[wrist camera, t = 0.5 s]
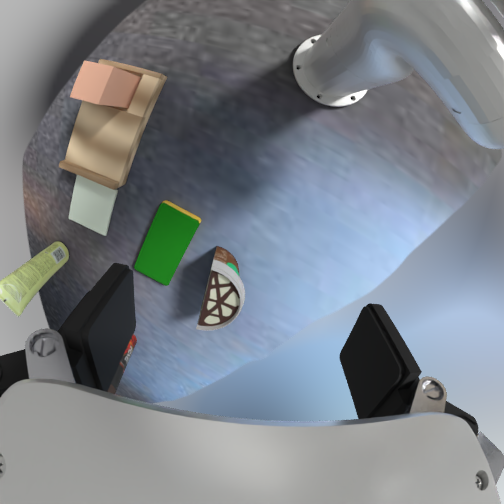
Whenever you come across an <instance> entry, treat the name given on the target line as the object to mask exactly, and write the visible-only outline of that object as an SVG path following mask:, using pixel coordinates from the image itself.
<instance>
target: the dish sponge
mask: <svg viewBox="0 0 504 504" xmlns="http://www.w3.org/2000/svg"><path fill="white" fill-rule="evenodd" d="M200 222H201V218H199V217H197V216H196V215H194V214H192V213H190V212H188V211H186V210H184V209H182V208H181V207H179V206H177V205H175V204H173V203H171V202H169V201H167V200H165V201H163V202H162V203H161V204H160V206H159V209H158V211H157V213H156V215H155V217H154V220H153V222H152V224H151V227H150V229H149V231H148V234H147V236H146V238H145V241H144V243H143V246H142V248H141V250H140V253H139V255H138V258H137V261H136V263H135V266H134V268H135V270H137V271H139V272H141V273H143V274H145V275H146V276H148V277H150V278H152V279H154V280H156V281H158V282H160V283H162V284H164V285H165V286H167V285H169V283H170V281H171V279H172V277H173V275H174V273H175V271H176V269H177V267H178V265H179V263H180V261H181V259H182V257H183V255H184V253H185V251H186V249H187V247H188V245H189V243H190V241H191V239H192V237H193V236H194V234H195V232H196V230H197V228H198V226H199V224H200Z"/></svg>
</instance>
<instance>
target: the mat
mask: <svg viewBox="0 0 504 504" xmlns="http://www.w3.org/2000/svg"><path fill="white" fill-rule="evenodd" d="M117 192H118V190H117V189H115V190H112V189H110V188H108V187H105V186H103V185H101V184H98V183H96V182H94V181H91V180H89V179H86V178H84V177H82V176H79V175H77V177H76V181H75V186H74V191H73V196H72V201H71V206H70V212H69V218H68V219H71V220H73V221H75V222H77V223H79V224H81V225H83V226H85V227H87V228H89V229H91V230H93V231H96V232H98V233H100V234H102V235H104V236H106V235H107V232H108V227H109V223H110V219H111V215H112V211H113V207H114V203H115V200H116V196H117Z"/></svg>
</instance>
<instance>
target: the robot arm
mask: <svg viewBox="0 0 504 504" xmlns="http://www.w3.org/2000/svg"><path fill="white" fill-rule="evenodd" d="M490 1H491V2H492V3H493V4H494V6H495V7H496V8H497V10H498V11H499V12H500V14H501V15H502V16H503V18H504V0H490ZM311 42H313V43H314V44H313V43H311ZM292 67H293V74H294V77H295V79H296V82H297V83H298V85H299V87H300V88H301V89H302V90H303V91H304V93H305V94H307V95H308V96H309V97H310V98H311V99H313V100H315V101H316V102H318V103H321V104H323V105H327V106H332V107H342V106H347V105H351V104H353V103H356V102H357V101H358V100H360V99H361V98H362V97H363V96H364V95H365V94H366V92H367V90H368V89H371V88H375V87H379V86H383V85H387V84H391V83H394V82H397V81H400V80H402V79H404V78H406V77H407V76H409V75H410V74H411V73H412V72H413V70H415V71H416V72H417V73H418V74H419V75H420V76H421V77H422V78H423V79H424V80H425V81H426V82H427V83H428V84H429V86H430V87H431V88H432V89H433V90H434V92H435V93H436V94H437V95H438V97H439V98H440V99H441V100H442V102H443V103H444V104H445V106H446V107H447V108H448V110H449V111H450V112H451V114H452V115H453V116H454V118H455V119H456V120H457V122H458V123H459V125H460V126H461V127H462V129H463V130H464V131H465V132H466V134H467V135H468V136H469V137H470V138H471V139H472V140H473V141H475V142H476V143H478V144H479V145H481V146H484V147H486V148H491V149H504V30H503V27H502V26H501V24H500V23H499V22H498V20H497V19H496V18H495V16H494V15H493V14H492V12H491V11H490V10H489V8H488V7H487V6H486V5H485V4H484V2H483V1H482V0H350V1H349V2H348V4H347V5H346V6H345V8H344V9H343V10H342V11H341V13H340V14H339V15H338V16H337V17H336V18H335V20H334V21H333V22H332V23H331V24H330V26H329V27H328V28H327V29H326V30H325V31H324V33H323V34H322V35H317V36H313V37H311V38H309V39H307V40H305V41H304V42H303V43H302V44H301V45H300V46H299V47H298V49H297V51H296V52H295V54H294V58H293V66H292ZM297 67H298V68H299V70H297V69H296V68H297ZM317 96H319V98H317ZM351 97H352V100H351ZM135 327H136V319H135V304H134V285H133V271H132V270H130V269H129V266H128V265H124V264H119V263H114V264H113V265H112V266H111V267H110V268H109V269H108V270H107V272H106V273H105V274H104V275H103V276H102V278H101V279H100V280H99V281H98V282H97V284H96V285H95V286H94V287H93V288H92V290H91V291H89V292H88V293H87V294H86V295H85V296H84V298H83V299H82V300H81V301H80V303H79V304H78V305H77V306H76V308H75V309H74V310H73V312H72V313H71V314H70V316H69V317H68V318H67V319H66V321H65V322H64V324H63V325H62V326H61V328H60V329H59V330H58V332H57V331H55V330H53V329H40V330H38V331H35V332H34V333H32V334H31V335H30V336H29V337H28V339H27V341H26V344H25V349H24V350H21V351H17V352H13V353H10V354H6V355H2V356H0V504H501V502H500V498H499V495H498V491H497V488H496V483H497V481H498V479H499V477H500V475H501V472H502V470H503V468H504V455H503V454H502V452H501V451H500V450H499V449H498V448H497V447H496V446H495V445H494V444H493V443H492V442H491V441H490V440H489V439H488V438H487V437H485V435H484V434H482V432H479V433H478V425H477V422H476V420H475V418H474V417H473V416H471V415H469V414H468V413H466V412H464V411H463V410H461V409H459V408H457V407H455V406H454V405H452V404H450V403H449V402H447V401H446V397H447V392H446V389H445V387H444V386H443V385H442V383H441V382H439V381H438V380H437V379H435V378H432V377H423V378H422V379H419V377H418V376H419V375H420V374H421V370H420V368H419V366H418V365H417V363H416V361H415V359H414V357H413V356H412V354H411V352H410V350H409V349H408V347H407V345H406V344H405V342H404V340H403V339H402V337H401V335H400V333H399V332H398V330H397V329H396V327H395V325H394V324H393V322H392V320H391V319H390V317H389V316H388V314H387V312H386V311H385V309H384V308H383V306H382V305H379V304H368V305H367V306H366V307H363V309H362V311H361V313H360V315H359V317H358V319H357V321H356V323H355V325H354V327H353V329H352V331H351V333H350V335H349V337H348V339H347V341H346V343H345V345H344V347H343V349H342V350H341V353H340V361H341V364H342V367H343V370H344V374H345V376H346V380H347V383H348V386H349V389H350V392H351V396H352V399H353V402H354V405H355V409H356V412H357V415H358V418H359V419H354V420H341V421H271V420H255V419H242V418H232V417H224V416H216V415H208V414H202V413H196V412H189V411H184V410H179V409H174V408H169V407H164V406H159V405H155V404H151V403H146V402H142V401H138V400H134V399H130V398H126V397H123V396H119V395H115V394H112V393H108V392H107V391H108V389H109V387H110V385H111V382H112V380H113V378H114V375H115V373H116V371H117V368H118V366H119V364H120V362H121V359H122V357H123V355H124V353H125V350H126V348H127V346H128V344H129V342H130V340H131V338H132V335H133V333H134V331H135Z"/></svg>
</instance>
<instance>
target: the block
mask: <svg viewBox="0 0 504 504" xmlns="http://www.w3.org/2000/svg"><path fill="white" fill-rule="evenodd" d="M141 79H142V78H141V77H138V76H136V75H134V74H131V73H129V72H126V71H124V70H121V69H119V68H116V67H113V66H109V65H104V64H99V63H94V62H89V61H84V63H83V65H82V67H81V70H80V72H79V74H78V77H77V79H76V82H75V84H74V87H73V90H72V92H71V95H70V97H72V98H76V99H80V100H83V101H87V102H91V103H94V104H98V105H107V106H116V107H125V108H129V106H130V104H131V102H132V99H133V97H134V94H135V92H136V90H137V88H138V85H139V83H140V81H141Z"/></svg>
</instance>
